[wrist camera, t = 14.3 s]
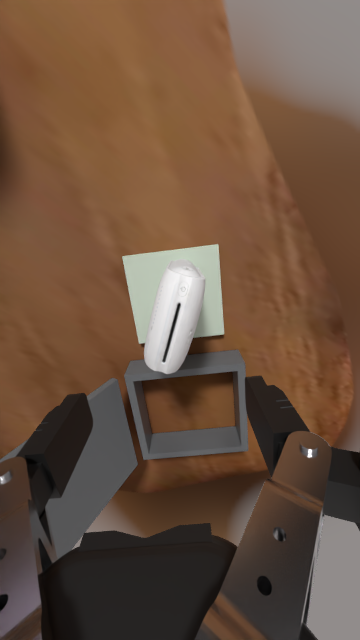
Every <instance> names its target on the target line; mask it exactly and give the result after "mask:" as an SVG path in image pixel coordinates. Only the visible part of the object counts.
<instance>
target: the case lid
mask: <svg viewBox="0 0 360 640" xmlns="http://www.w3.org/2000/svg"><path fill="white" fill-rule="evenodd" d="M87 400H88V403H89V407H90V410H91V413H92V417H93V428H92V431H91V434H90V436H89V438H88V440H87V442H86V445H85V447H84V449H83V451H82V453H81V456H80V458H79V460H78V462H77V464H76V466H75V469H74V471H73V473H72V475H71V477H70V480H69V482H68V484H67V486H66V488H65V491H64V493H63V495H62V497H61V498H54V499H49V501H48V503H47V505H46V508H47V511H48V516H49V520H50V525H51V530H52V535H53V540H54V545H55V549H56V554H57V557H58V559H59V558H60V557H62V556H63V555H65V554H66V553H68V552H69V551H71V549H72V548H73V547H74V546H75V544H76V543H77V542H78V540H79V539H80V538H81V537H82V535H83V534H84V533H85V532H86V530H87V529H88V528H89V526H90V525H91V524H92V523H93V521H94V520H95V519H96V517H97V516H98V515H99V514H100V512H101V511H102V510H103V508H104V507H105V506H106V505H107V503H108V502H109V501H110V500H111V498H112V497H113V496H114V494H115V493H116V492H117V491H118V489H119V488H120V487H121V485H122V484H123V483H124V482H125V480H126V479H127V478H128V476H129V475H130V474H131V473H132V471H133V470H134V469H135V468H136V466H137V465H138V463H137V459H136V455H135V451H134V446H133V442H132V438H131V434H130V430H129V426H128V422H127V417H126V413H125V409H124V405H123V401H122V397H121V393H120V388H119V384H118V380H117V379H114V378H111V379H110V380H108V381H107V382H106V383H104V384H103V385H102V386H100V387H99V388H97V389H96V390H95V391H93V392H92V393H91V394H89V395H88V396H87ZM27 441H28V440H26V441H25V442H24V443H22V444H21V445H19V446H18V447H17V448H15V449H14V450H13V451H11V452H10V453H9V454H7V455H6V456H4V457H3V458H2V459H0V463H1V462H3V461H5V460H7V459H10V458H13V457H16V455H17V454H18V453H19V451H20V450H21V449H22V447H23V446H24V445H25V443H26V442H27Z"/></svg>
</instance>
